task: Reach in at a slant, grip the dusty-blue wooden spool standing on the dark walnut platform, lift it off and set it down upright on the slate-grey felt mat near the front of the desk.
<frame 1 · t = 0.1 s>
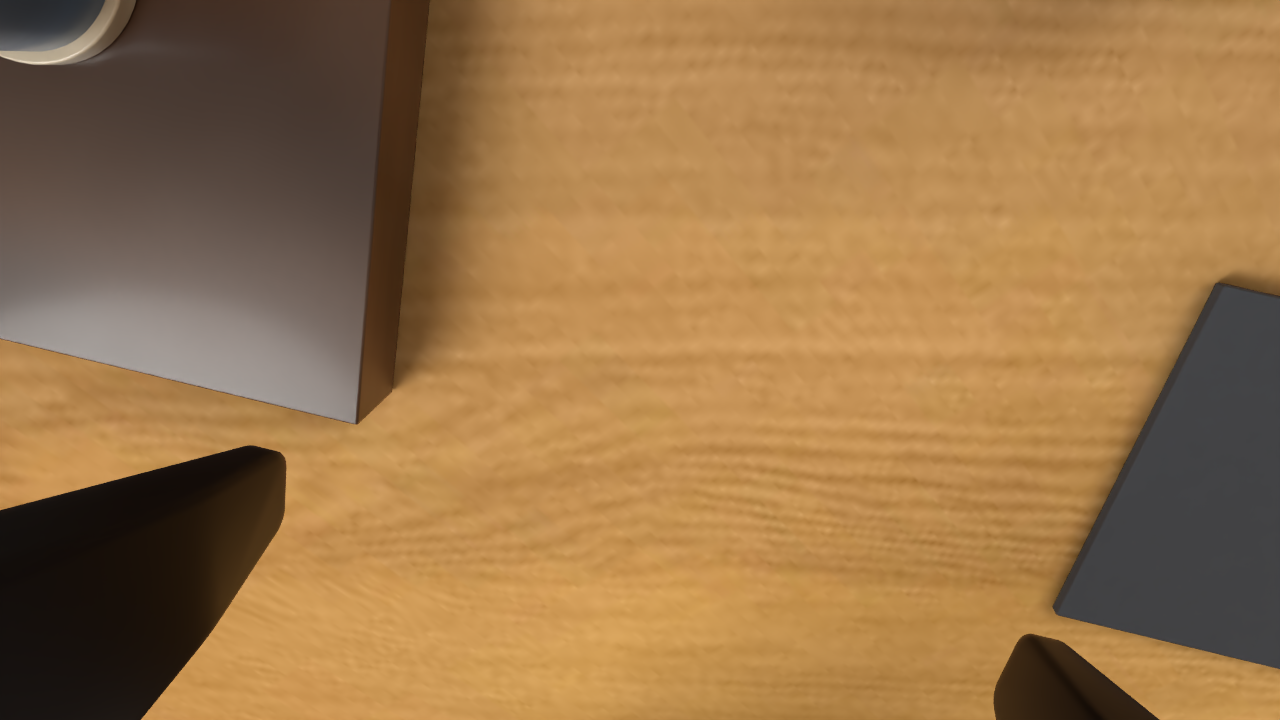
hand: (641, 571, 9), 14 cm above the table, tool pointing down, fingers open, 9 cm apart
platform: (195, 104, 22), on the table
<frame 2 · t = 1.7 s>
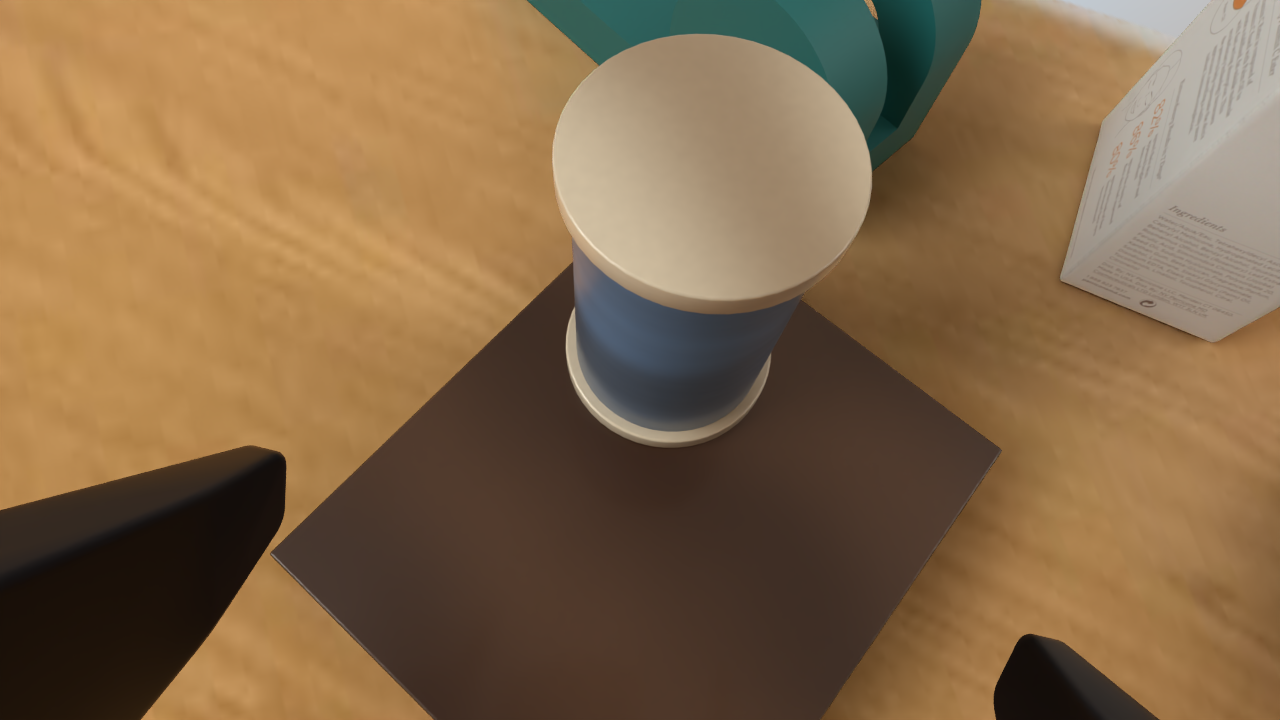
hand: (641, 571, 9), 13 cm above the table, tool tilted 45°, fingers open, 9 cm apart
spool: (667, 351, 22), point 2 cm above the table, touching platform
small box: (1147, 229, 28), on the table
bracket: (681, 42, 30), on the table
platform: (649, 516, 23), on the table
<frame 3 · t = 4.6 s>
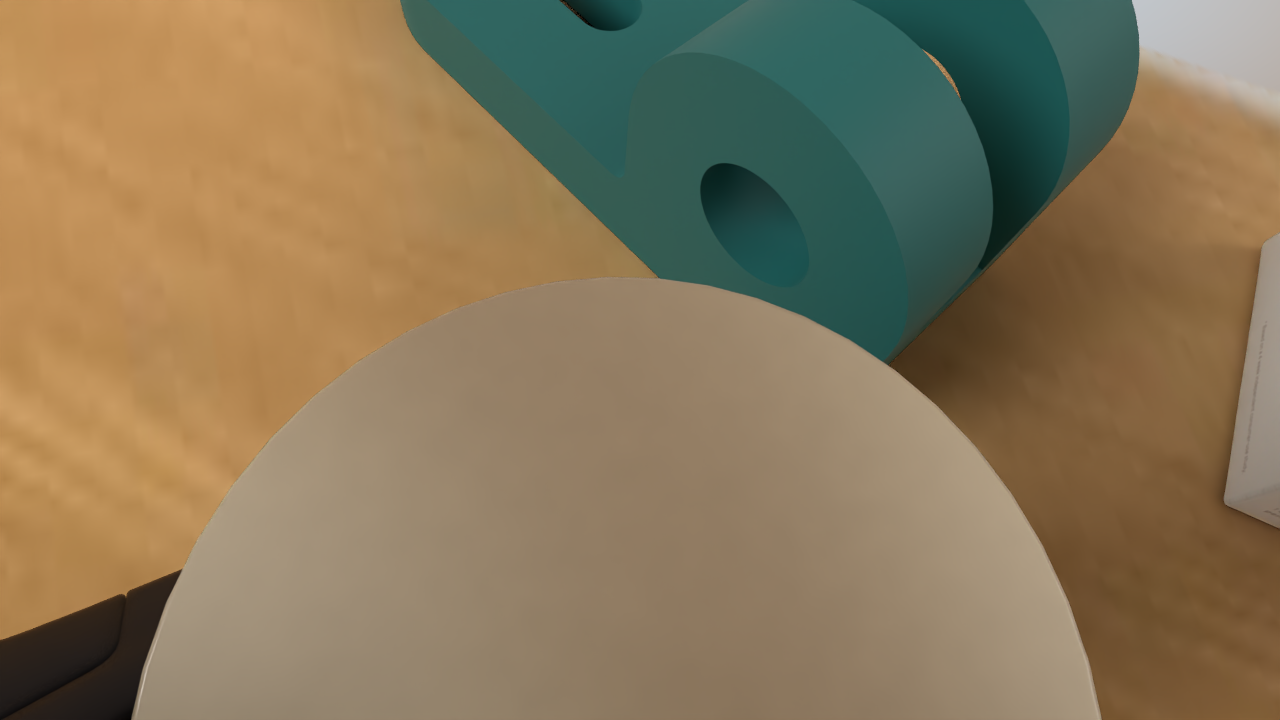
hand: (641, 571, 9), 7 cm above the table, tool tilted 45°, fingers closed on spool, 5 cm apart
spool: (603, 692, 13), point 3 cm above the table, touching gripper, platform
bracket: (655, 120, 21), on the table
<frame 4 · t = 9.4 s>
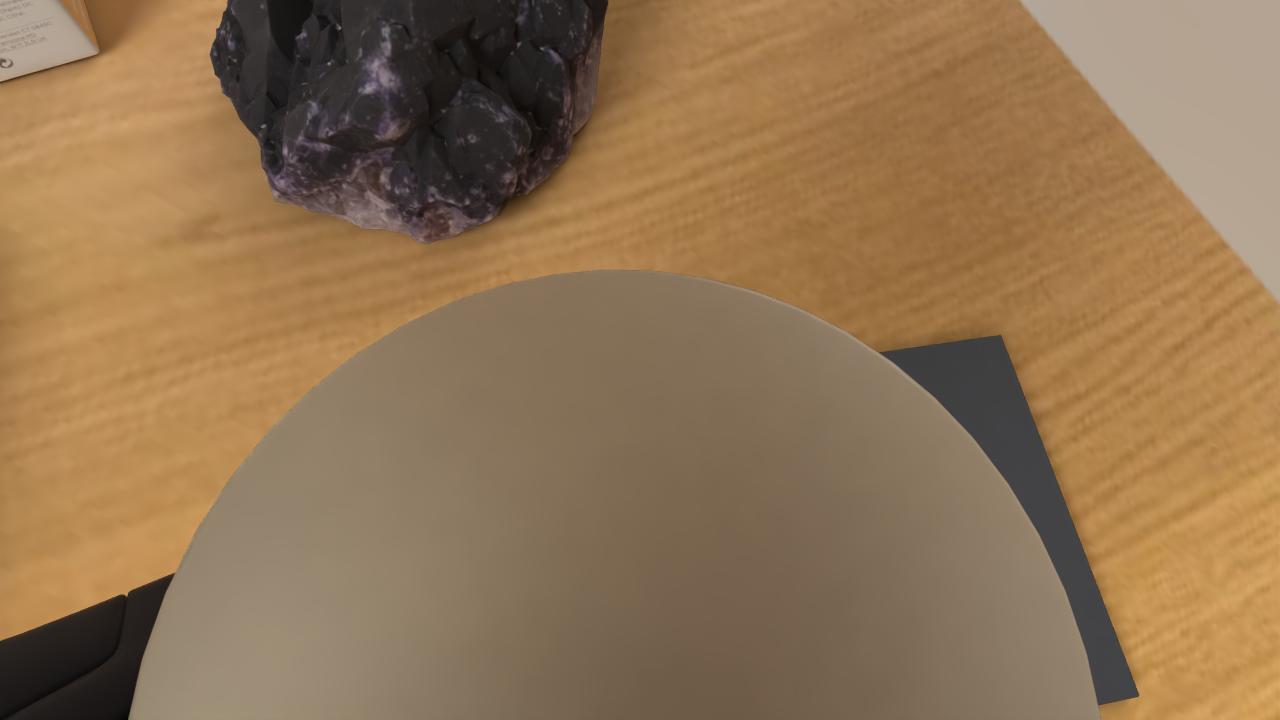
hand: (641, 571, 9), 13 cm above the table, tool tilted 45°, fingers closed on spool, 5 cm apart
spool: (603, 689, 13), point 9 cm above the table, touching gripper
small box: (8, 7, 28), on the table
felt mat: (887, 532, 23), on the table
crystal cluster: (431, 96, 28), on the table
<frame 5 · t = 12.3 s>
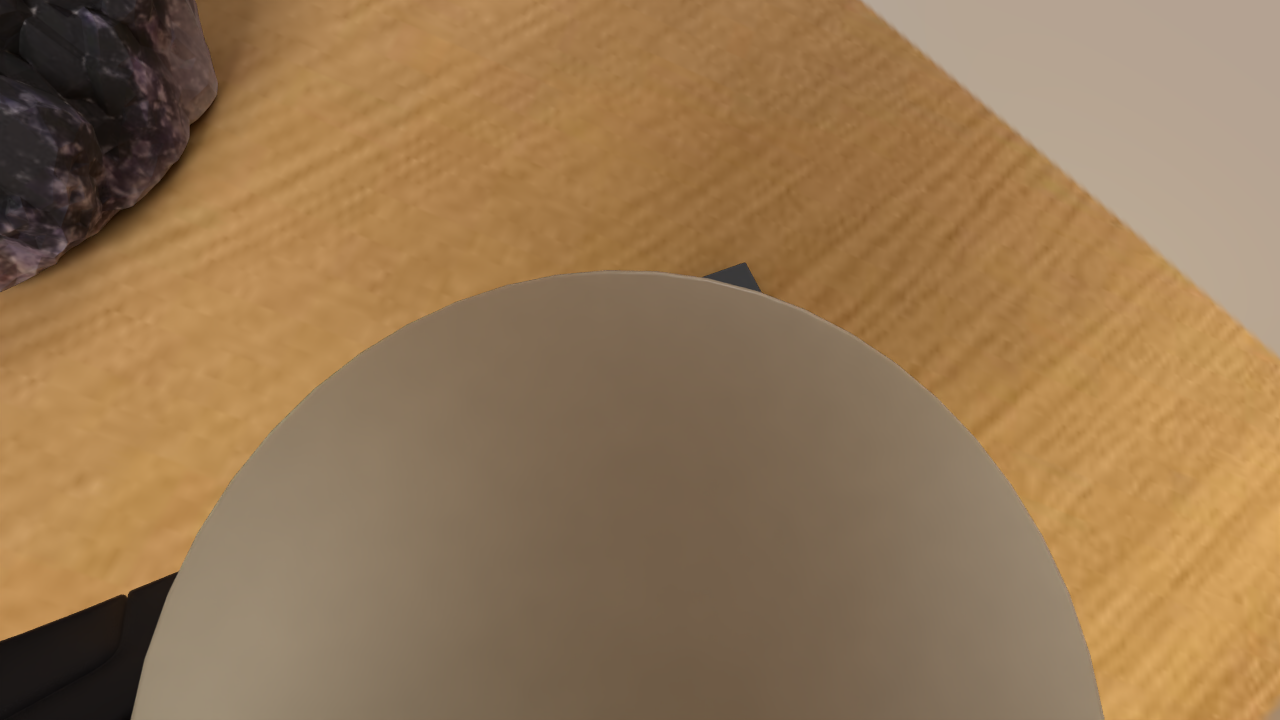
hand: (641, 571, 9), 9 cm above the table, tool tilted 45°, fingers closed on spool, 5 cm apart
spool: (604, 689, 13), point 4 cm above the table, touching gripper
felt mat: (638, 529, 18), on the table
crystal cluster: (7, 107, 22), on the table
when the fingers open (5 cm above the table, at t = 14.3 s): spool stays where it is, resting on felt mat.
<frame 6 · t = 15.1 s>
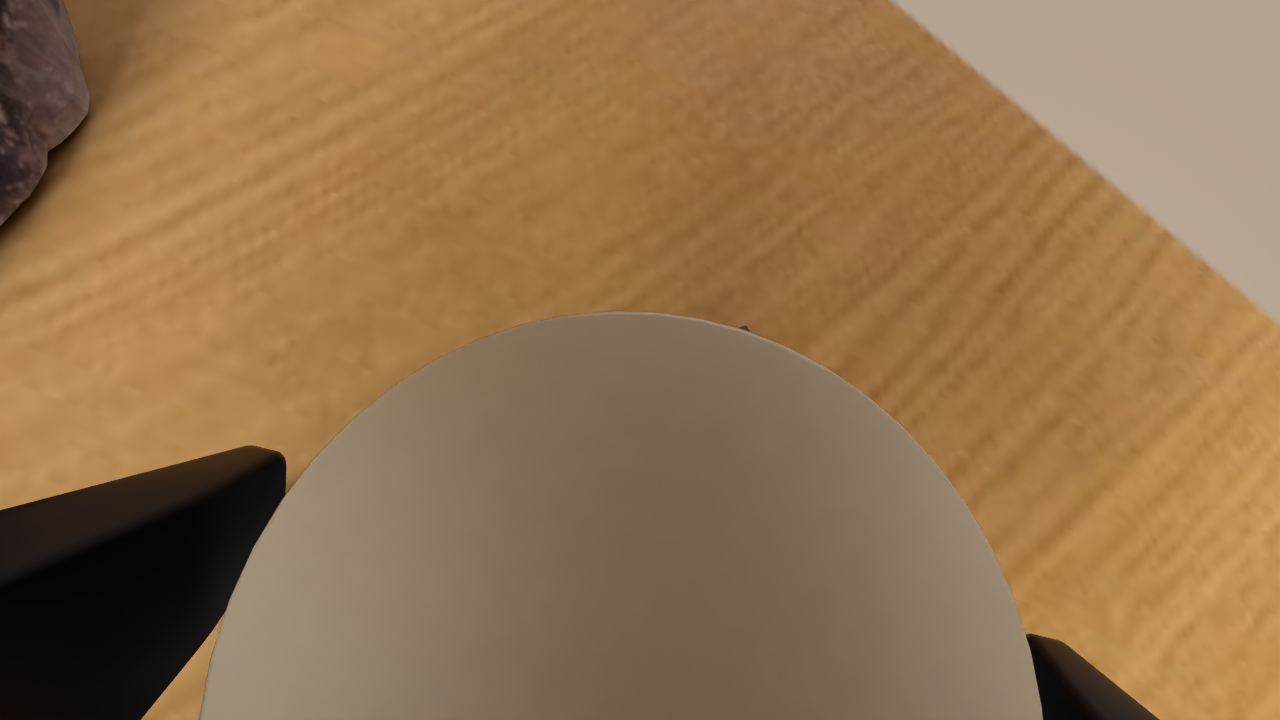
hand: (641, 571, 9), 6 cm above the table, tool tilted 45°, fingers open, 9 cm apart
spool: (605, 686, 14), resting on felt mat
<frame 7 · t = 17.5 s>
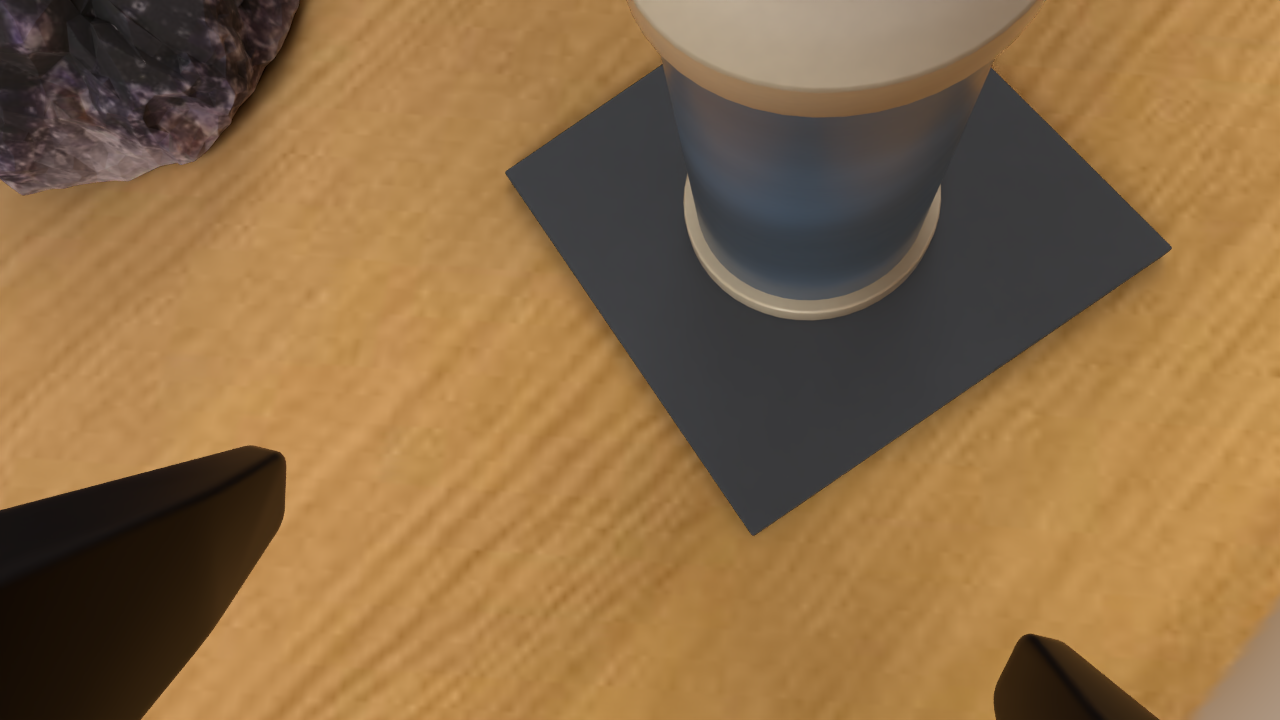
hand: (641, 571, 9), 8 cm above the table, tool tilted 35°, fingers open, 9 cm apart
spool: (807, 204, 18), resting on felt mat
felt mat: (808, 213, 19), on the table
crystal cluster: (146, 13, 24), on the table
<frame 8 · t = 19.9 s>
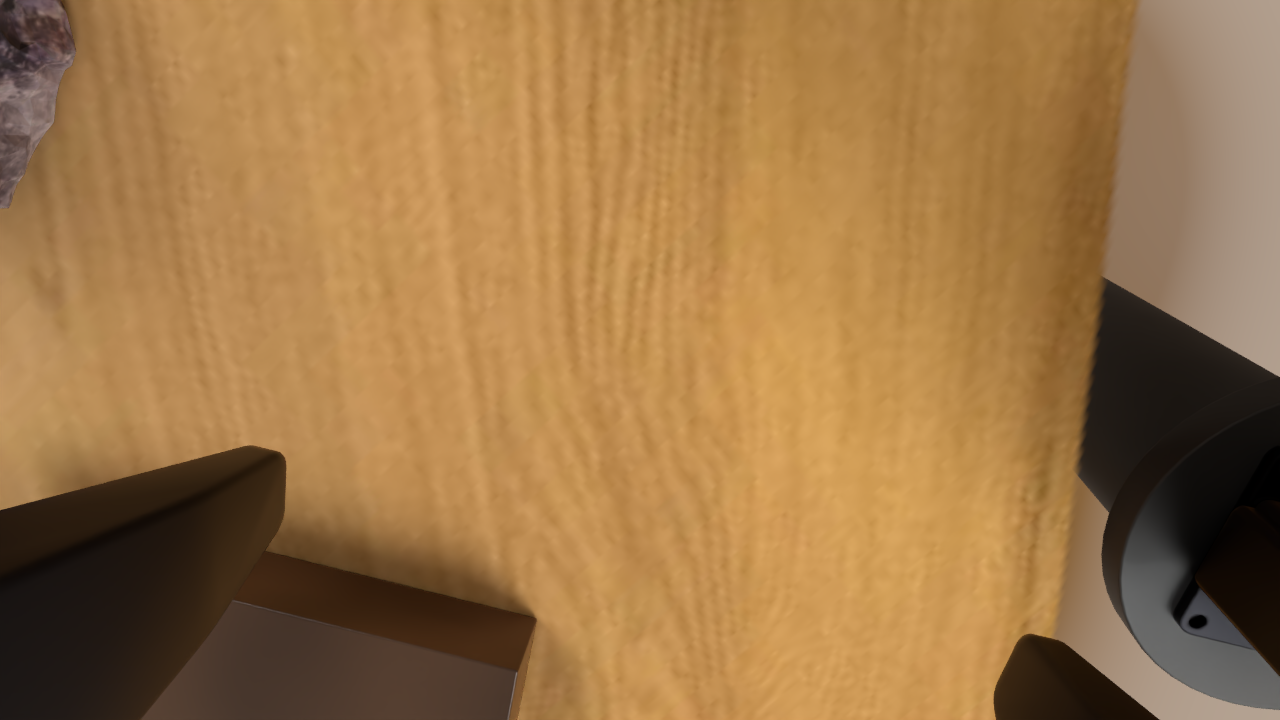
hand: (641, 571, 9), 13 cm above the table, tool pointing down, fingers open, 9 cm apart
platform: (315, 706, 29), on the table
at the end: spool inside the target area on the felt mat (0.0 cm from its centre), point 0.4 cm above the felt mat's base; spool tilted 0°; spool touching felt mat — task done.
